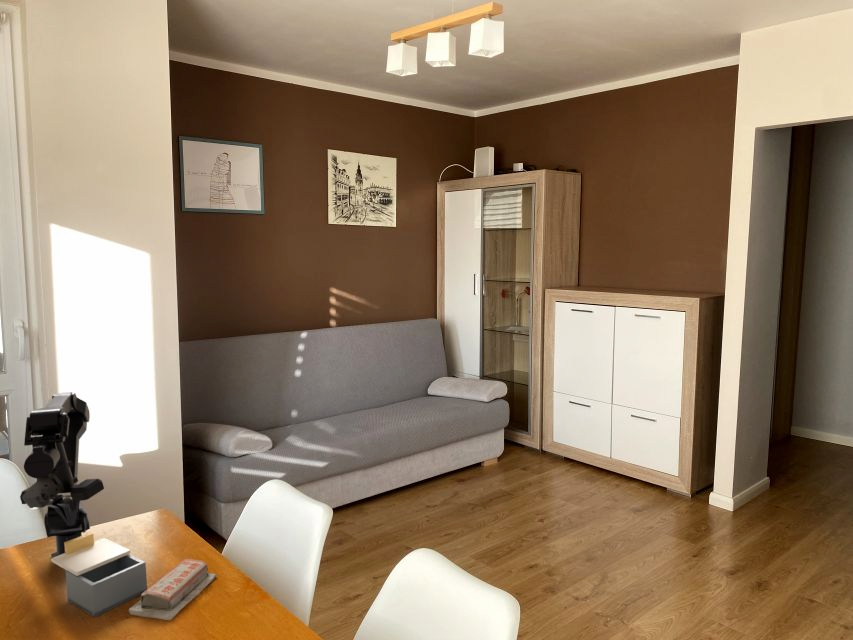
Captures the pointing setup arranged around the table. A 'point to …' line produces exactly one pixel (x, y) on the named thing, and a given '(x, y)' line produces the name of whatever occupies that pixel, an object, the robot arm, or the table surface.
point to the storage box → (107, 585)
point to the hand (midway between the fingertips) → (71, 524)
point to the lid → (88, 554)
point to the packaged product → (173, 590)
